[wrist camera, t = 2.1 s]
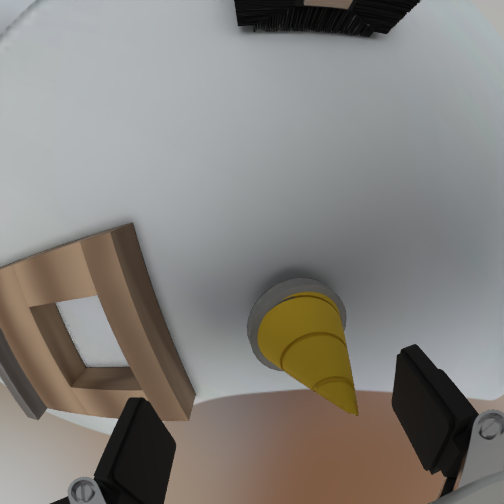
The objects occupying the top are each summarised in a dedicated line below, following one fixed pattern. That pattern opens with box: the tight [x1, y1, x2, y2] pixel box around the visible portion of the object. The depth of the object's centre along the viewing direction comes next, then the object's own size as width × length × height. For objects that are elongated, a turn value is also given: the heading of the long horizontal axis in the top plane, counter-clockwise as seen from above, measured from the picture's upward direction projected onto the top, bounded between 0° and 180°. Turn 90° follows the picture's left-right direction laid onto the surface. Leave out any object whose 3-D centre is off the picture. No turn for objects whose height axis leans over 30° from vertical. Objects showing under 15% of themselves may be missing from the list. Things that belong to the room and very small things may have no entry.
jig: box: [0, 223, 196, 421], centre depth 17 cm, size 18×14×5 cm
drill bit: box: [247, 278, 358, 416], centre depth 13 cm, size 5×5×10 cm
